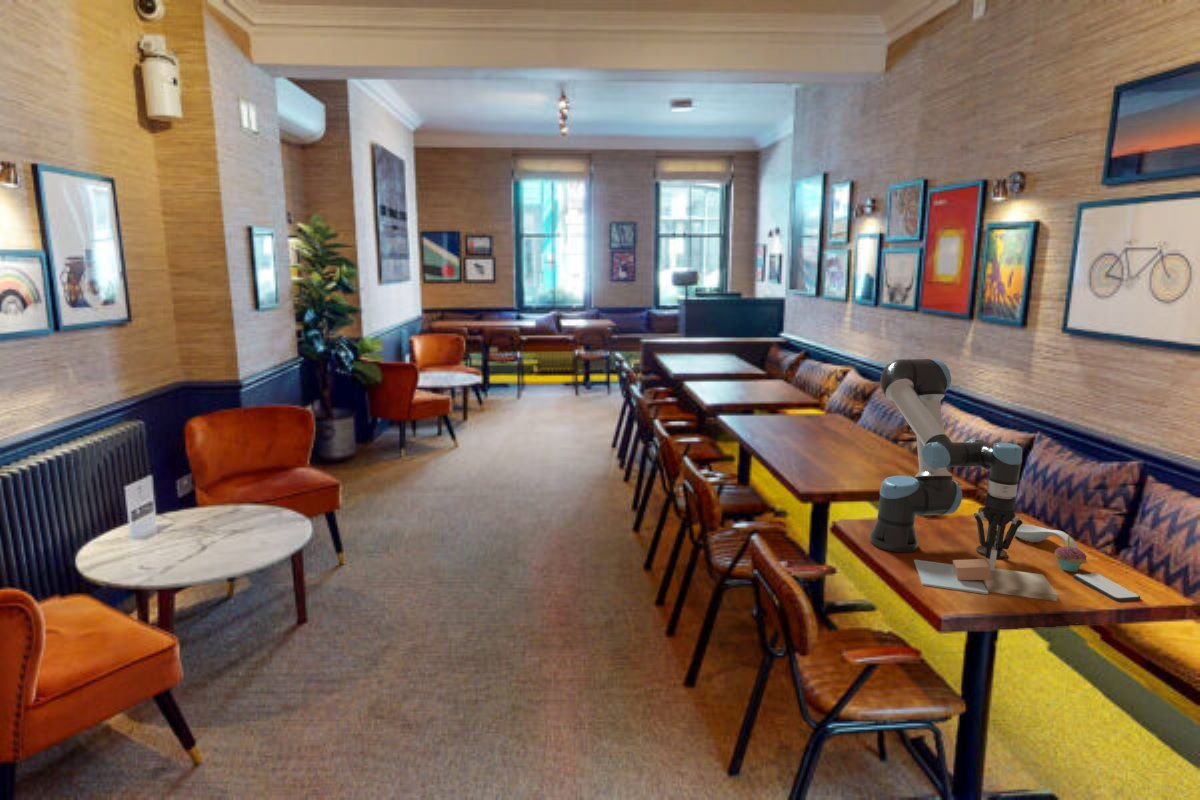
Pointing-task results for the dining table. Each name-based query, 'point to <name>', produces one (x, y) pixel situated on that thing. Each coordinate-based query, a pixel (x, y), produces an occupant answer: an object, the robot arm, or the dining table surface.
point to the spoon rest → (1040, 534)
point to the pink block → (971, 569)
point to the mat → (946, 577)
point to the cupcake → (1070, 557)
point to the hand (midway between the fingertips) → (990, 568)
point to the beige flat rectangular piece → (1020, 584)
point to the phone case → (1106, 587)
